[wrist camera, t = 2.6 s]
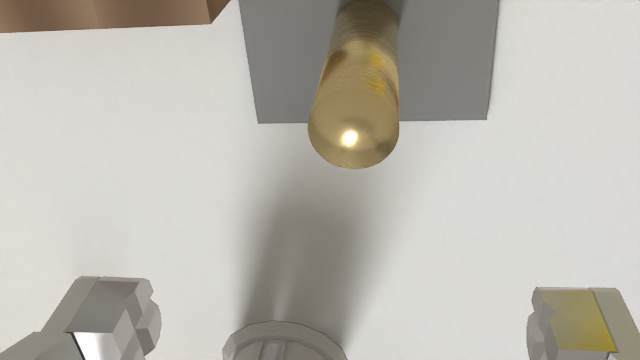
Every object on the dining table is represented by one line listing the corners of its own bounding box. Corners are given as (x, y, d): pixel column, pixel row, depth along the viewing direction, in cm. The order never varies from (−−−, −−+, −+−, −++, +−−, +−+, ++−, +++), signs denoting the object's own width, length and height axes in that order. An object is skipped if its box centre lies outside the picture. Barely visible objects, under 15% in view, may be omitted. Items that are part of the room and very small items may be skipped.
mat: (506, -98, 23) (508, -96, 23) (485, 116, 29) (486, 119, 29) (228, -79, 25) (226, -77, 25) (259, 120, 30) (257, 123, 30)
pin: (397, -5, 26) (399, 87, 17) (397, 57, 27) (399, 168, 19) (332, -2, 26) (303, 89, 18) (336, 59, 28) (312, 169, 19)
